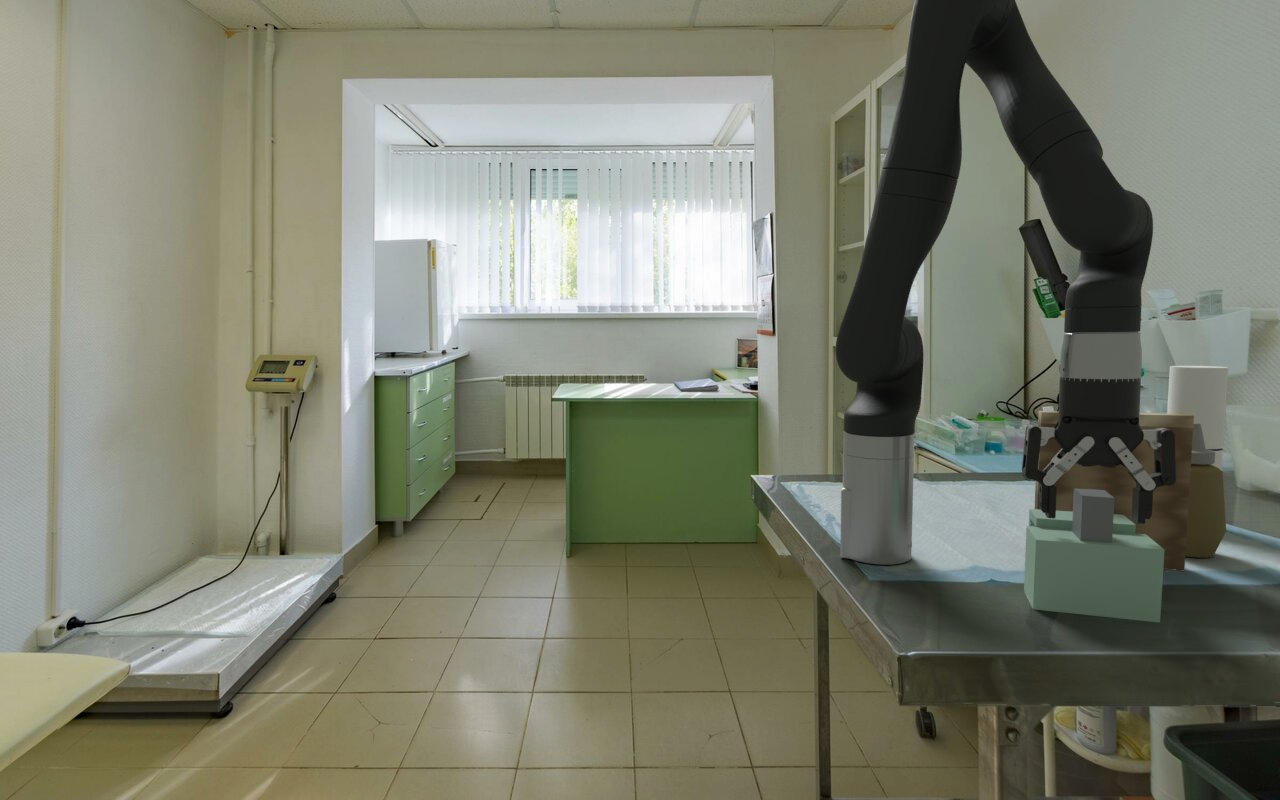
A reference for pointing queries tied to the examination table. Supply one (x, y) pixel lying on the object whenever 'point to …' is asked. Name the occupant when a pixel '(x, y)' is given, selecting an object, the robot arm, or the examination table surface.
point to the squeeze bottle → (1204, 501)
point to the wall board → (1134, 483)
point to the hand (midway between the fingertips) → (1093, 519)
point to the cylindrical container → (1201, 401)
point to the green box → (1092, 562)
